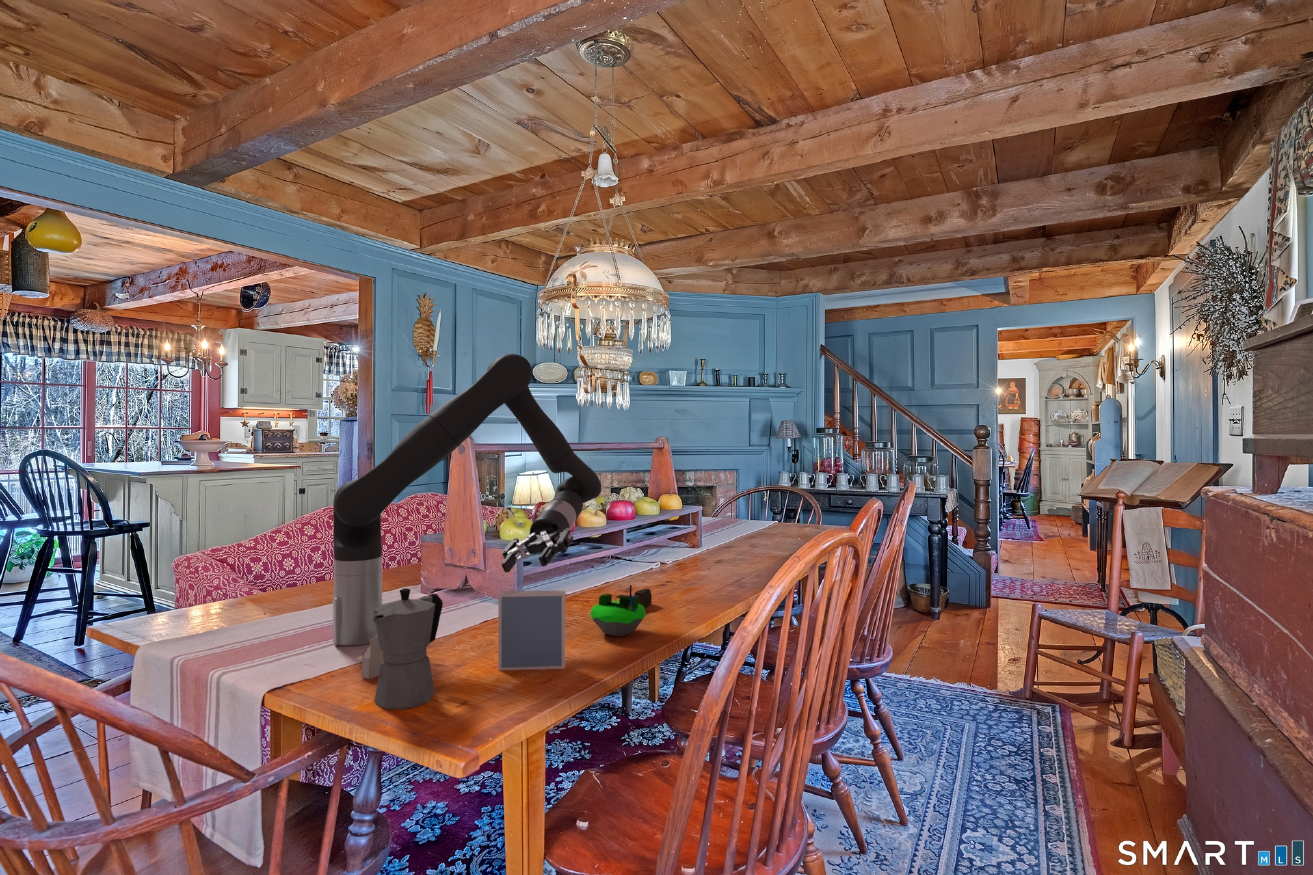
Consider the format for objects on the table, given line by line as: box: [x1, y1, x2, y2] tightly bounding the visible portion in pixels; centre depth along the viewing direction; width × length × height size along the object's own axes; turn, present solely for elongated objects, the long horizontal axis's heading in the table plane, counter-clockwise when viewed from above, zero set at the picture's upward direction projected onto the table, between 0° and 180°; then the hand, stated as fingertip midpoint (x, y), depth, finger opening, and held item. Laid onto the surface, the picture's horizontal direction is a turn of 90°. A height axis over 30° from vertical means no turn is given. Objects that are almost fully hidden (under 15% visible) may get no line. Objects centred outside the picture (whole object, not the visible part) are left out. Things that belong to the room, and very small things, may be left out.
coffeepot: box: [373, 587, 444, 711], centre depth 110 cm, size 15×9×18 cm, turn 159°
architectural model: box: [356, 634, 383, 680], centre depth 122 cm, size 3×7×7 cm, turn 155°
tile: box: [497, 589, 566, 671], centre depth 124 cm, size 12×2×14 cm, turn 95°
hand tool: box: [633, 587, 653, 609], centre depth 162 cm, size 19×4×5 cm, turn 145°
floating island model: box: [589, 584, 647, 637], centre depth 145 cm, size 12×12×11 cm
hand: (523, 565), depth 132 cm, fingers open, 8 cm apart
